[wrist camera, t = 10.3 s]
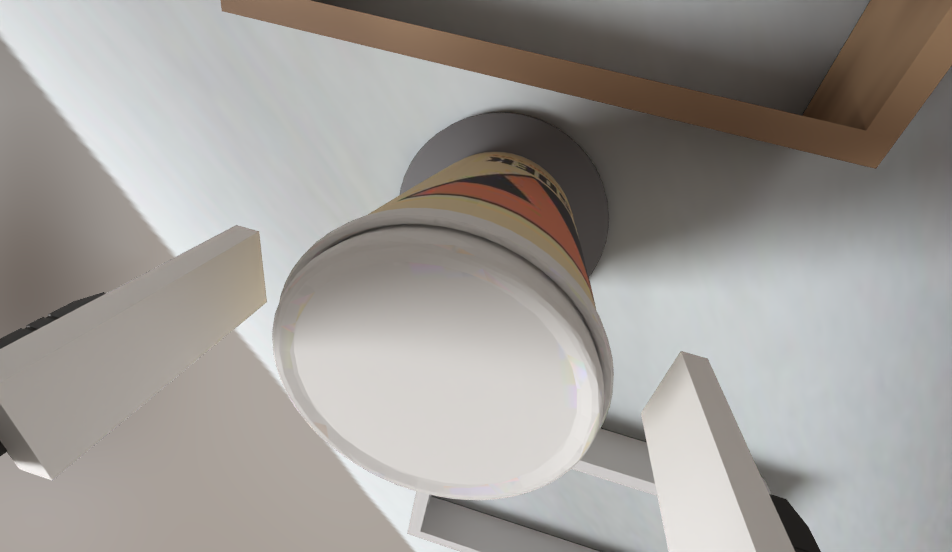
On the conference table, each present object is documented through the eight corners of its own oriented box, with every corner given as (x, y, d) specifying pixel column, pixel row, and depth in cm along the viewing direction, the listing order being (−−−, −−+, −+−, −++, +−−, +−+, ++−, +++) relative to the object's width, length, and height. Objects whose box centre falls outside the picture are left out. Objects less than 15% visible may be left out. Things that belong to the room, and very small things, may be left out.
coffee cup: (630, 231, 19) (705, 430, 9) (498, 329, 24) (445, 538, 13) (494, 86, 17) (388, 124, 7) (379, 222, 22) (209, 369, 11)
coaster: (414, 87, 19) (410, 88, 18) (644, 144, 18) (646, 147, 17) (393, 280, 24) (390, 285, 24) (567, 330, 23) (567, 336, 23)
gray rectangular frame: (445, 381, 27) (432, 414, 25) (763, 478, 26) (785, 524, 23) (419, 498, 35) (407, 533, 32) (663, 579, 33) (671, 622, 31)
